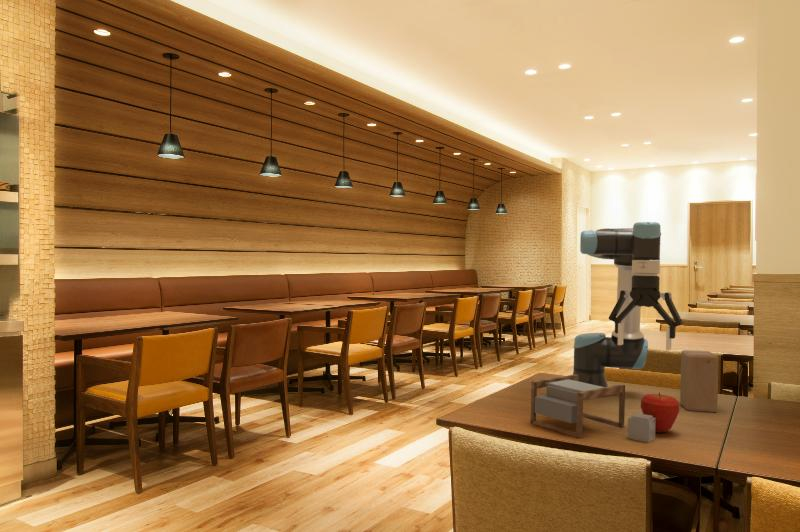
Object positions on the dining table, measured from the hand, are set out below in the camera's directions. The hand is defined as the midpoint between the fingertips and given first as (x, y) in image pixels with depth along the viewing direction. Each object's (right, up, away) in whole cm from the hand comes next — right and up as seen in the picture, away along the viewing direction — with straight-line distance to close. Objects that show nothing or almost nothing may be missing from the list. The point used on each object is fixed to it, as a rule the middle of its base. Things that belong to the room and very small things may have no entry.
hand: (643, 347), depth 171 cm
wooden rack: (-16, -26, +13) cm, 33 cm away
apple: (+8, -27, +7) cm, 29 cm away
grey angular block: (-18, -22, +11) cm, 31 cm away
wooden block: (+34, -27, +36) cm, 57 cm away
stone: (-1, -27, 0) cm, 27 cm away
